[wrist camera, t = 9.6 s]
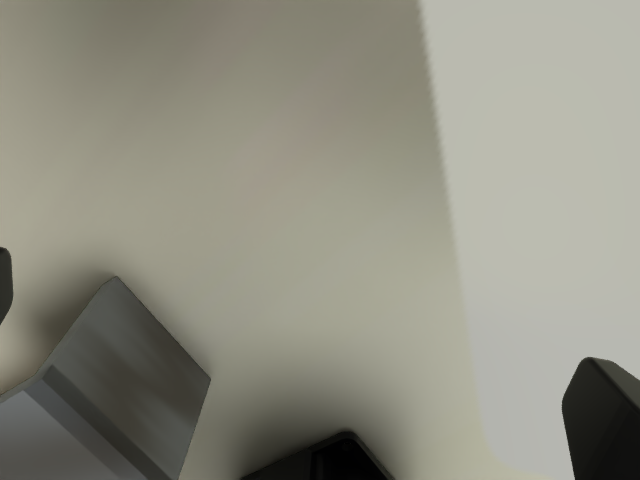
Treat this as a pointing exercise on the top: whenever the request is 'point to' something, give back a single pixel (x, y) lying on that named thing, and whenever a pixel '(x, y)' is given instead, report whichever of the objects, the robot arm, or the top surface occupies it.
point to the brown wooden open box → (105, 400)
